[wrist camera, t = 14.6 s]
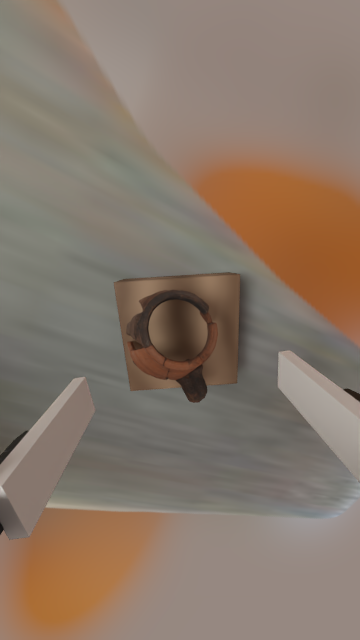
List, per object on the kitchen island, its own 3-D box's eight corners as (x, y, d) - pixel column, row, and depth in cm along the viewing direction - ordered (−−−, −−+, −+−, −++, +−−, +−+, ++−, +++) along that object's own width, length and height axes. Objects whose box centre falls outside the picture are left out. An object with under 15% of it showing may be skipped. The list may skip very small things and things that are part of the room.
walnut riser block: (137, 370, 30) (130, 390, 25) (124, 278, 26) (113, 282, 21) (227, 364, 30) (237, 383, 25) (227, 272, 26) (240, 274, 21)
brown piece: (108, 326, 23) (104, 312, 15) (172, 290, 26) (196, 263, 18) (162, 411, 23) (185, 440, 15) (219, 365, 26) (262, 369, 19)
